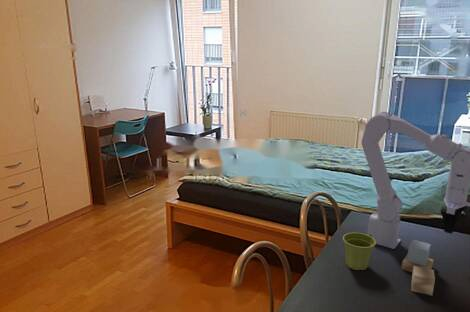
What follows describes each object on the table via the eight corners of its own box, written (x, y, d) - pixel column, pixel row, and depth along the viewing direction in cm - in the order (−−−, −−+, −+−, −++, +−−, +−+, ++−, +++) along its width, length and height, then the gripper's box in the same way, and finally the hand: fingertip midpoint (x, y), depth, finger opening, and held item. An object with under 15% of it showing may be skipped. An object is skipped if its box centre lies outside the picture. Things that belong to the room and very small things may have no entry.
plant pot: (334, 265, 114) (337, 239, 112) (349, 254, 121) (351, 229, 118) (364, 278, 108) (367, 250, 106) (377, 265, 115) (381, 239, 112)
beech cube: (411, 291, 102) (414, 275, 101) (411, 281, 107) (413, 265, 106) (432, 295, 100) (435, 279, 99) (430, 285, 105) (433, 269, 104)
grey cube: (406, 261, 112) (409, 245, 111) (410, 254, 116) (412, 239, 115) (425, 266, 109) (427, 251, 108) (428, 259, 113) (430, 244, 112)
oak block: (401, 270, 113) (402, 261, 112) (407, 260, 118) (408, 251, 117) (426, 278, 109) (428, 269, 108) (431, 268, 114) (433, 259, 113)
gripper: (469, 196, 106) (461, 240, 109) (476, 183, 117) (468, 223, 121) (441, 191, 110) (434, 233, 114) (450, 178, 121) (443, 217, 125)
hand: (450, 228), depth 117 cm, fingers open, 7 cm apart
